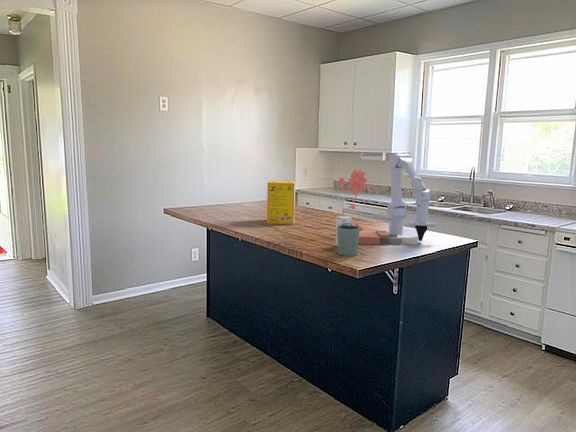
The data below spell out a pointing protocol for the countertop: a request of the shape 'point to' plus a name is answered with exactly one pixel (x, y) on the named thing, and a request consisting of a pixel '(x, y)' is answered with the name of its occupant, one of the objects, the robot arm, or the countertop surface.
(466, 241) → the countertop surface
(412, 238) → the chute
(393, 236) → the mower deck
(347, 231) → the green tapered cup
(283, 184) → the packaging box
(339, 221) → the syrup box
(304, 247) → the countertop surface
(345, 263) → the countertop surface
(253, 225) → the countertop surface
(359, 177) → the pink flower bunch
